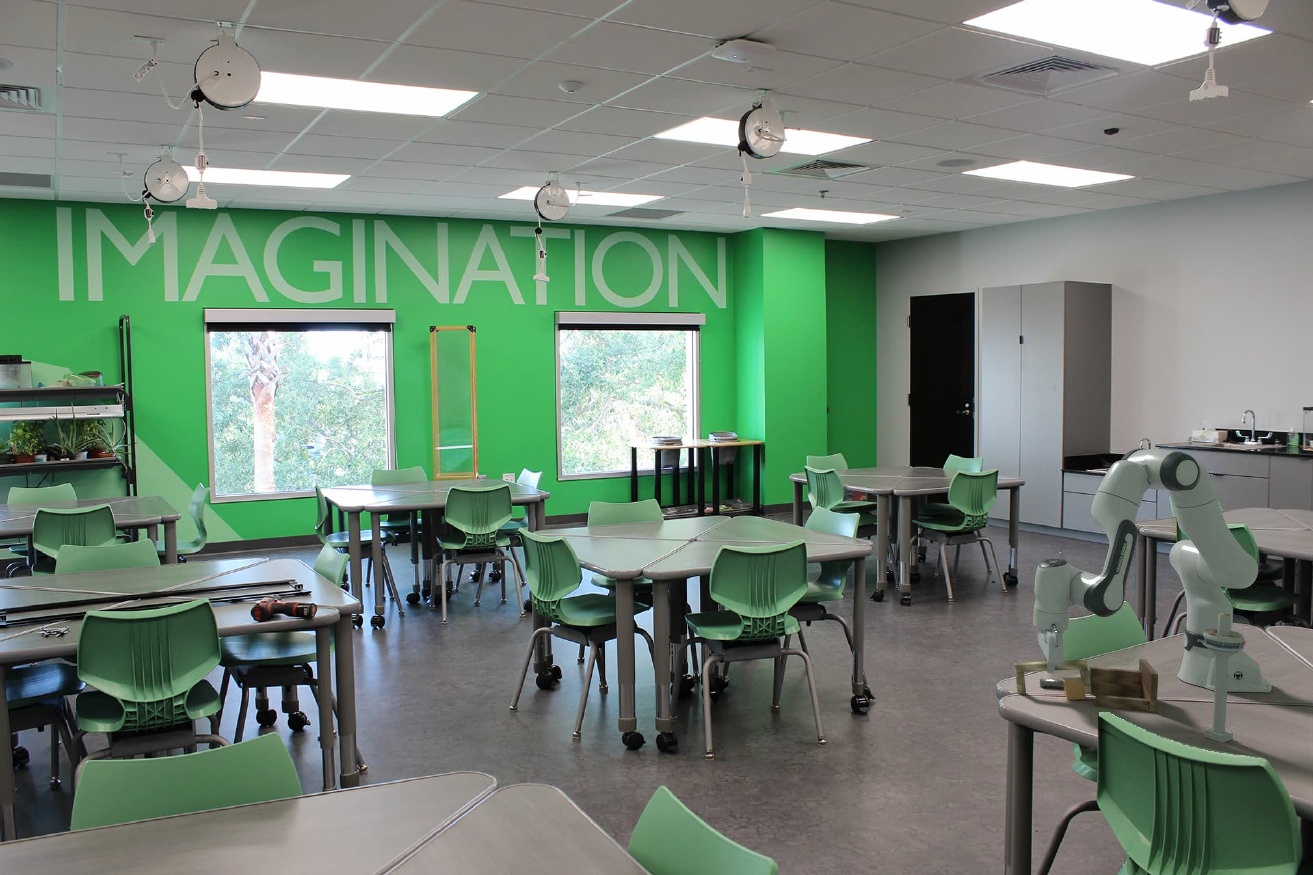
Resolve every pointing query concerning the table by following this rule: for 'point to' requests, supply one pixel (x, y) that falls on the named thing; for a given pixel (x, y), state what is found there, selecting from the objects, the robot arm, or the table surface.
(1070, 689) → the orange cube
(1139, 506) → the robot arm
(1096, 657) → the table surface
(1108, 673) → the walnut cubby
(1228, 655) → the model tower
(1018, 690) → the beech crook
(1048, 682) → the dark metal rod
